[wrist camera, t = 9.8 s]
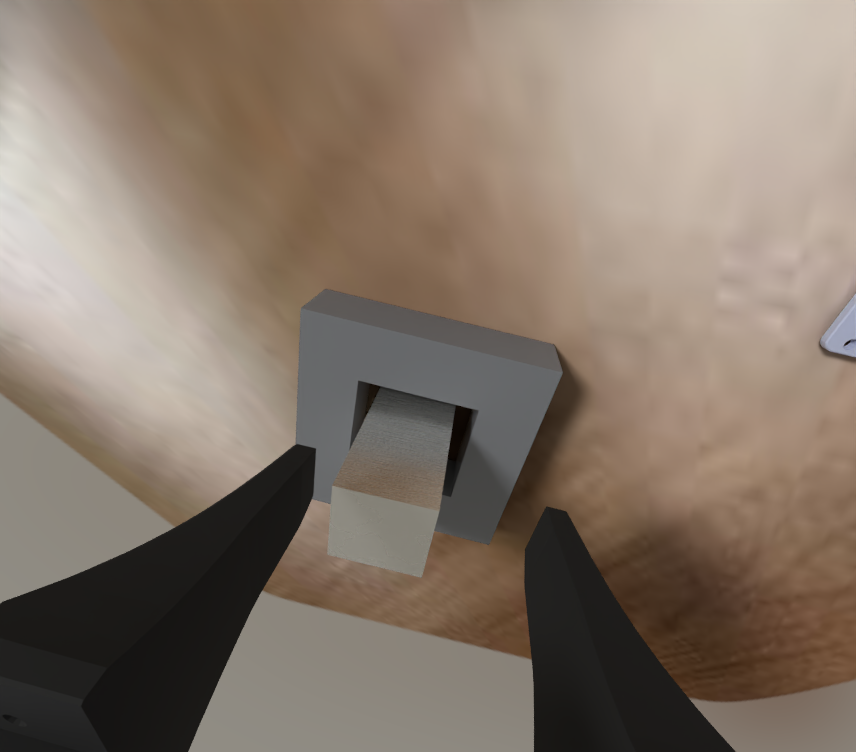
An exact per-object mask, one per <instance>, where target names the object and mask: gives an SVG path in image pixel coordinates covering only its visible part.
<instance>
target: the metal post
mask: <svg viewBox="0 0 856 752" xmlns="http://www.w3.org/2000/svg"><path fill="white" fill-rule="evenodd" d="M455 407H456V405H455V404H450V403H446V402H442V401H438V400H434V399H430V398H426V397H422V396H418V395H414V394H410V393H406V392H402V391H398V390H394V389H390V388H386V387H382V386H381V387H380V389H379V391H378V393H377V396H376V398H375V400H374V402H373V404H372V406H371V408H370V410H369V412H368V414H367V416H366V418H365V420H364V422H363V424H362V426H361V428H360V430H359V432H358V434H357V436H356V438H355V440H354V442H353V444H352V446H351V448H350V450H349V452H348V454H347V456H346V458H345V461H344V463H343V465H342V467H341V469H340V471H339V473H338V475H337V477H336V479H335V481H334V483H333V485H332V495H331V509H330V524H329V539H328V554H327V555H331V556H335V557H339V558H343V559H348V560H352V561H356V562H360V563H364V564H368V565H372V566H376V567H380V568H384V569H388V570H392V571H396V572H401V573H405V574H409V575H413V576H417V577H421V578H422V574H423V570H424V567H425V563H426V559H427V556H428V552H429V548H430V544H431V541H432V537H433V533H434V529H435V526H436V522H437V518H438V514H439V510H440V504H441V497H442V491H443V485H444V478H445V472H446V465H447V459H448V452H449V446H450V439H451V433H452V427H453V420H454V414H455Z"/></svg>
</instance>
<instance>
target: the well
mask: <svg viewBox="0 0 856 752" xmlns="http://www.w3.org/2000/svg"><path fill="white" fill-rule="evenodd" d="M562 374H563V371H562V368H561V365H560V362H559V359H558V355H557V352H556V349H555V346H554V344H550V343H546V342H541V341H537V340H533V339H529V338H525V337H521V336H517V335H513V334H509V333H504V332H500V331H496V330H492V329H488V328H484V327H480V326H476V325H472V324H468V323H463V322H459V321H455V320H451V319H447V318H443V317H439V316H435V315H431V314H426V313H422V312H418V311H414V310H410V309H406V308H402V307H398V306H394V305H389V304H385V303H381V302H377V301H373V300H369V299H365V298H361V297H357V296H352V295H348V294H344V293H340V292H336V291H332V290H328V289H325V290H323V291H322V292H321V293H319V294H318V295H317V296H316V297H314V298H313V299H312V300H311V301H309V302H308V303H307V304H306V305H304V306H303V307H302V308H301V316H300V342H299V369H298V395H297V421H296V444H300V445H304V446H308V447H312V448H316V460H315V477H314V493H313V497H312V499H313V500H317V501H321V502H325V503H329V504H331V495H332V485H333V483H334V481H335V479H336V477H337V475H338V473H339V471H340V469H341V467H342V465H343V463H344V461H345V458H346V456H347V454H348V452H349V450H350V448H351V446H352V444H353V442H354V440H355V438H356V436H357V434H358V432H359V430H360V428H361V426H362V424H363V422H364V420H365V414H366V407H367V400H368V394H369V387H370V384H374V385H378V386H382V387H386V388H390V389H394V390H398V391H402V392H406V393H410V394H414V395H418V396H422V397H426V398H430V399H434V400H438V401H442V402H446V403H450V404H455V405H459V406H463V407H467V408H471V409H472V410H471V413H470V416H469V419H468V423H467V426H466V429H465V432H464V435H463V439H462V442H461V445H460V448H459V451H458V455H457V458H456V461H453V460H449V459H447V465H446V472H445V478H444V485H443V491H442V497H441V504H440V510H439V514H438V518H437V522H436V526H435V529H434V531H437V532H441V533H445V534H449V535H453V536H456V537H460V538H464V539H468V540H472V541H476V542H480V543H483V544H487V545H489V544H490V541H491V539H492V537H493V534H494V532H495V530H496V527H497V525H498V523H499V520H500V518H501V516H502V513H503V511H504V509H505V506H506V504H507V502H508V499H509V497H510V495H511V492H512V490H513V488H514V485H515V483H516V481H517V478H518V476H519V474H520V471H521V469H522V467H523V464H524V462H525V460H526V457H527V455H528V453H529V450H530V448H531V446H532V443H533V441H534V439H535V436H536V434H537V432H538V429H539V427H540V425H541V422H542V420H543V418H544V416H545V413H546V411H547V409H548V406H549V404H550V402H551V399H552V397H553V395H554V392H555V390H556V388H557V385H558V383H559V381H560V378H561V376H562Z"/></svg>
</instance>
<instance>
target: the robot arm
mask: <svg viewBox="0 0 856 752" xmlns="http://www.w3.org/2000/svg"><path fill="white" fill-rule="evenodd" d="M849 340H851V342H850V343H849V344H848V345H846V346H844V344H845V343H846V342H847V341H849ZM820 344H821V346H822V347H823V348H825V349H826V350H828V351H830V352H834V353H839V354H843V355H847V356H851V357H855V358H856V294H855V295H854V296H853V297H852V299H851V300H850V301H849V303H848V304H847V305H846V307H845V308H844V309H843V310H842V312H841V313H840V314H839V316H838V317H837V318H836V320H835V321H834V322H833V323H832V325H831V326H830V327H829V329H828V330H827V331H826V332H825V334H824V335H823V336H822V338H821V340H820ZM315 460H316V448H312V447H308V446H304V445H300V444H296V445H294V446H293V447H292V448H290V449H289V450H288V451H287V452H285V453H284V454H283V455H282V456H280V457H279V458H278V459H276V460H275V461H274V462H273V463H271V464H270V465H269V466H267V467H266V468H265V469H264V470H262V471H261V472H260V473H258V474H257V475H255V476H254V477H253V478H251V479H250V480H249V481H247V482H246V483H244V484H243V485H242V486H240V487H239V488H237V489H236V490H235V491H233V492H232V493H230V494H229V495H227V496H226V497H224V498H223V499H221V500H220V501H218V502H216V503H215V504H213V505H212V506H210V507H209V508H207V509H206V510H204V511H202V512H201V513H199V514H198V515H196V516H194V517H192V518H191V519H189V520H187V521H186V522H184V523H182V524H180V525H179V526H177V527H175V528H173V529H171V530H170V531H168V532H166V533H164V534H162V535H160V536H158V537H156V538H154V539H152V540H151V541H148V542H146V543H145V544H143V545H141V546H139V547H136V548H134V549H132V550H130V551H128V552H126V553H124V554H122V555H119V556H117V557H115V558H113V559H110V560H108V561H106V562H104V563H101V564H99V565H97V566H95V567H92V568H90V569H88V570H85V571H83V572H81V573H78V574H76V575H74V576H71V577H69V578H66V579H63V580H61V581H58V582H55V583H53V584H50V585H47V586H45V587H42V588H39V589H37V590H34V591H31V592H28V593H26V594H23V595H20V596H18V597H15V598H12V599H9V600H6V601H4V602H2V603H1V604H0V752H188V751H189V748H190V746H191V743H192V741H193V739H194V736H195V734H196V731H197V729H198V727H199V724H200V722H201V720H202V718H203V715H204V713H205V711H206V709H207V706H208V704H209V702H210V699H211V697H212V695H213V693H214V690H215V688H216V686H217V683H218V681H219V679H220V677H221V675H222V672H223V670H224V668H225V666H226V663H227V661H228V659H229V657H230V655H231V653H232V651H233V648H234V646H235V644H236V642H237V640H238V638H239V635H240V633H241V631H242V629H243V627H244V625H245V623H246V621H247V618H248V616H249V614H250V612H251V610H252V608H253V606H254V604H255V602H256V600H257V599H258V597H259V595H260V593H261V592H262V590H263V588H264V586H265V585H266V583H267V581H268V580H269V578H270V576H271V575H272V573H273V571H274V569H275V568H276V566H277V564H278V563H279V561H280V559H281V557H282V556H283V554H284V552H285V551H286V549H287V547H288V546H289V544H290V542H291V540H292V539H293V537H294V535H295V533H296V532H297V530H298V528H299V526H300V524H301V522H302V520H303V518H304V516H305V513H306V511H307V509H308V506H309V504H310V502H311V499H312V497H313V493H314V477H315ZM525 595H526V606H527V616H528V626H529V636H530V646H531V656H532V665H533V681H534V752H735V750H734V749H733V748H732V747H731V746H730V745H729V744H728V743H727V742H726V741H725V739H724V738H723V737H722V736H721V735H720V734H719V733H718V732H717V731H716V730H715V728H714V727H713V726H712V725H711V724H710V723H709V722H708V720H707V719H706V718H705V717H704V716H703V715H702V714H701V712H700V711H699V710H698V709H697V708H696V707H695V705H694V704H693V703H692V702H691V700H690V699H689V698H688V697H687V696H686V694H685V693H684V692H683V691H682V689H681V688H680V687H679V686H678V685H677V683H676V682H675V681H674V680H673V679H672V677H671V676H670V675H669V673H668V672H667V671H666V670H665V668H664V667H663V666H662V664H661V663H660V662H659V661H658V659H657V658H656V656H655V655H654V654H653V652H652V651H651V650H650V648H649V647H648V646H647V644H646V643H645V641H644V640H643V639H642V637H641V636H640V635H639V633H638V632H637V630H636V629H635V627H634V626H633V625H632V623H631V622H630V620H629V619H628V617H627V615H626V614H625V612H624V611H623V609H622V608H621V606H620V605H619V603H618V602H617V600H616V598H615V597H614V595H613V594H612V592H611V590H610V589H609V587H608V585H607V584H606V582H605V580H604V578H603V577H602V575H601V573H600V572H599V570H598V568H597V567H596V565H595V563H594V561H593V559H592V558H591V556H590V554H589V552H588V550H587V549H586V547H585V545H584V543H583V541H582V539H581V538H580V536H579V534H578V532H577V530H576V528H575V526H574V525H573V523H572V521H571V519H570V517H569V515H568V514H567V512H566V511H562V510H558V509H554V508H550V507H546V508H545V510H544V512H543V514H542V516H541V518H540V520H539V522H538V524H537V526H536V528H535V530H534V532H533V535H532V537H531V539H530V541H529V543H528V545H527V547H526V549H525Z"/></svg>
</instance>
